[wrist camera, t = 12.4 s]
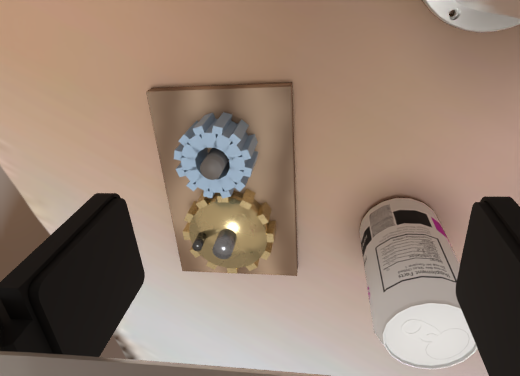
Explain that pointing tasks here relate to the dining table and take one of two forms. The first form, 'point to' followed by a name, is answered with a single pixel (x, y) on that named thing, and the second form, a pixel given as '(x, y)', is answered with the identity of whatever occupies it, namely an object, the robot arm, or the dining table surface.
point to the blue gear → (225, 139)
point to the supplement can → (414, 285)
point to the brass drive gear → (230, 230)
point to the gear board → (263, 175)
